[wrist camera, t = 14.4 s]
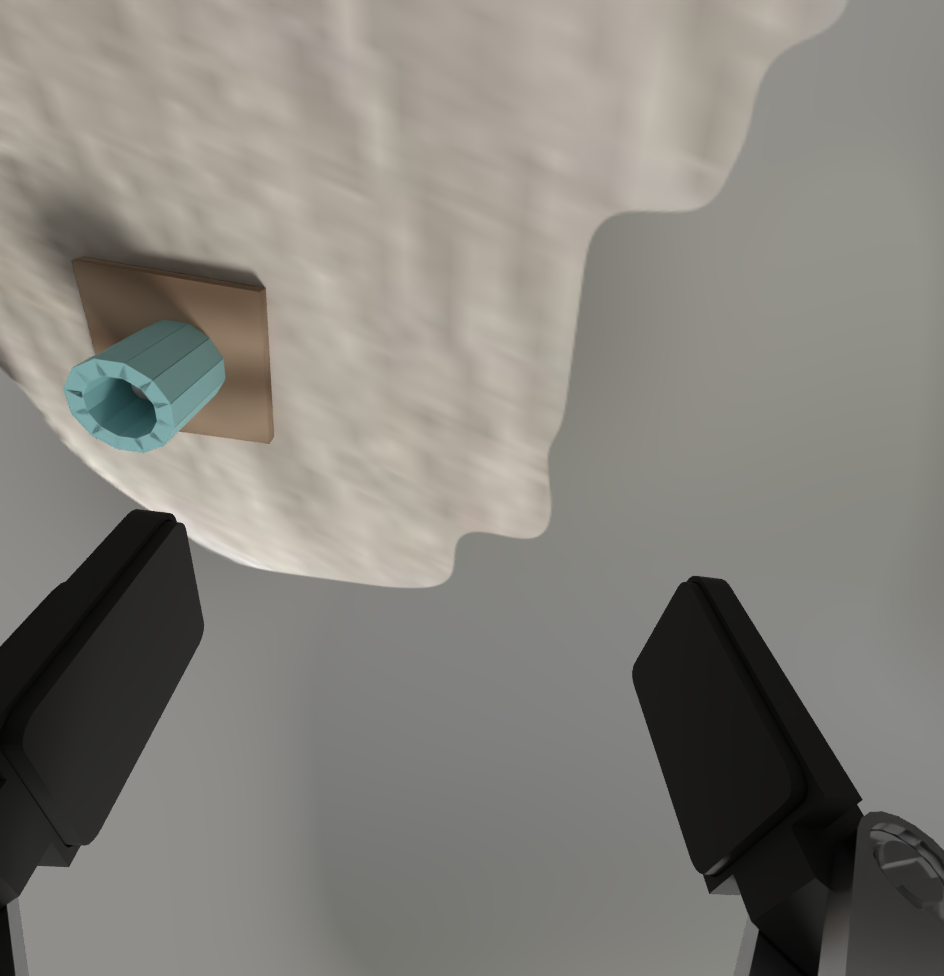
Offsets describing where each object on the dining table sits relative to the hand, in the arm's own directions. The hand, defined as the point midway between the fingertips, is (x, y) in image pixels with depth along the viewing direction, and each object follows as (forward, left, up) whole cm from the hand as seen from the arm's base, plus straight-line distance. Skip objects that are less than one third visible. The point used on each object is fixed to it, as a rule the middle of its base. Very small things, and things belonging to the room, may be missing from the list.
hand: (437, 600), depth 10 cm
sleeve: (+9, -19, -29) cm, 36 cm away
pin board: (+9, -19, -30) cm, 37 cm away
